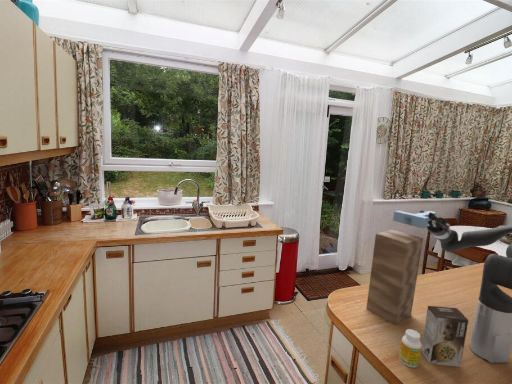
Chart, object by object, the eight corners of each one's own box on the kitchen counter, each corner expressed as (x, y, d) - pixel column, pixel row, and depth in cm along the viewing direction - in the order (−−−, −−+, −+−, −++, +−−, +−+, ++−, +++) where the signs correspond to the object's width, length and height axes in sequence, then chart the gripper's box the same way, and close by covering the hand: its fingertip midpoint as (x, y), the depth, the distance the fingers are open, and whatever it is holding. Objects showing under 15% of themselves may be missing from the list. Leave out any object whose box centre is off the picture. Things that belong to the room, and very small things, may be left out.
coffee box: (448, 352, 93) (457, 307, 90) (460, 367, 87) (470, 320, 84) (419, 349, 94) (427, 304, 91) (429, 364, 88) (437, 316, 85)
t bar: (417, 215, 128) (418, 206, 127) (447, 222, 118) (448, 212, 117) (392, 220, 116) (394, 211, 116) (423, 228, 107) (424, 218, 106)
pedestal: (383, 300, 123) (392, 229, 117) (411, 314, 113) (423, 238, 108) (366, 308, 116) (375, 233, 111) (394, 324, 107) (406, 243, 101)
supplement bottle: (408, 369, 85) (412, 340, 84) (395, 356, 90) (399, 328, 89) (422, 366, 87) (427, 337, 85) (409, 353, 92) (413, 326, 90)
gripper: (425, 217, 135) (411, 202, 125) (459, 225, 123) (447, 209, 113) (419, 231, 134) (405, 217, 124) (453, 240, 122) (440, 225, 112)
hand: (425, 213), depth 119 cm, fingers closed on t bar, 3 cm apart
